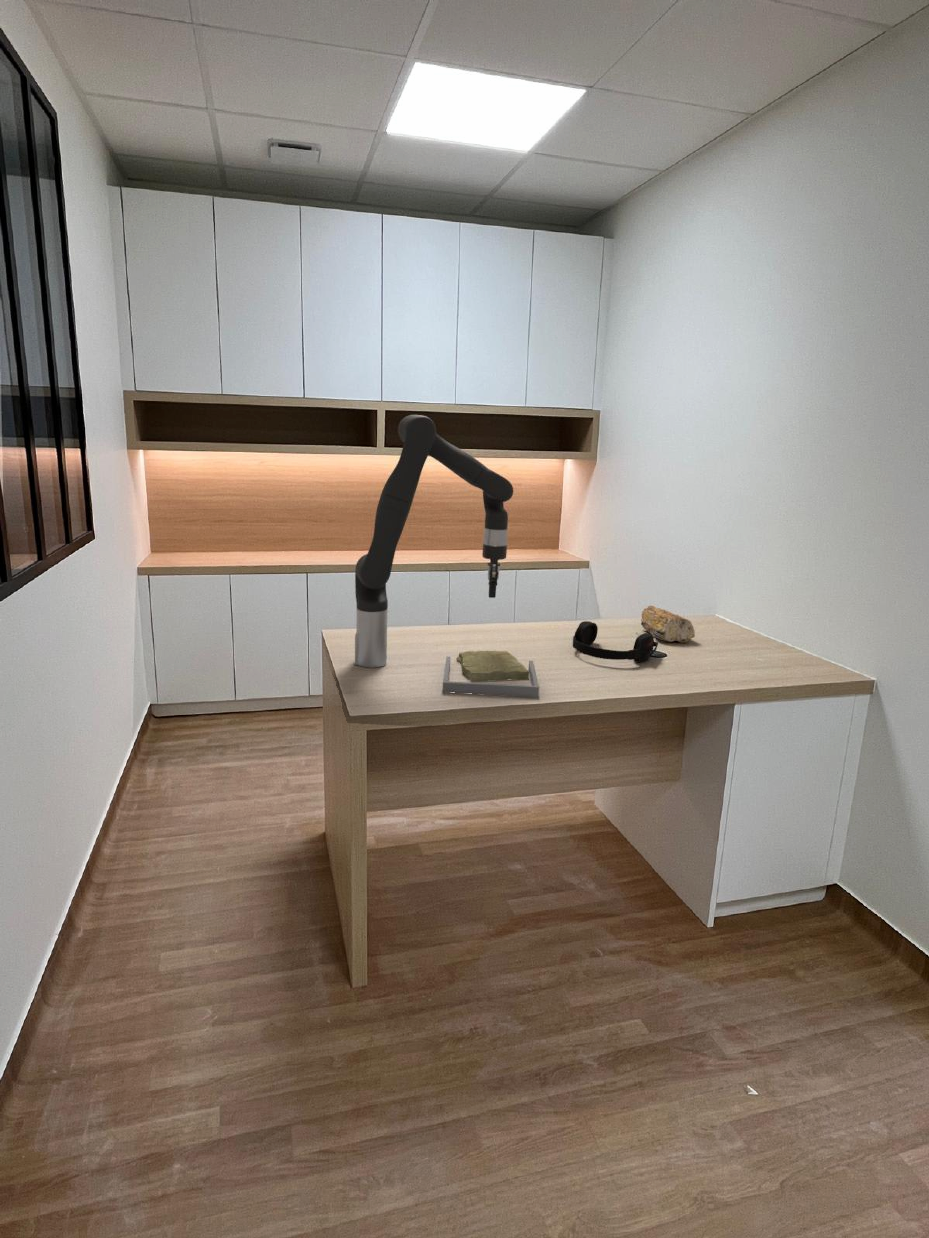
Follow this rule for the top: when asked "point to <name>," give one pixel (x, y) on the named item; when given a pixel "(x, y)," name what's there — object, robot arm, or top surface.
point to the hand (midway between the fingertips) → (492, 597)
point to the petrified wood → (667, 625)
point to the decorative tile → (491, 666)
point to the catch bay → (492, 685)
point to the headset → (640, 652)
